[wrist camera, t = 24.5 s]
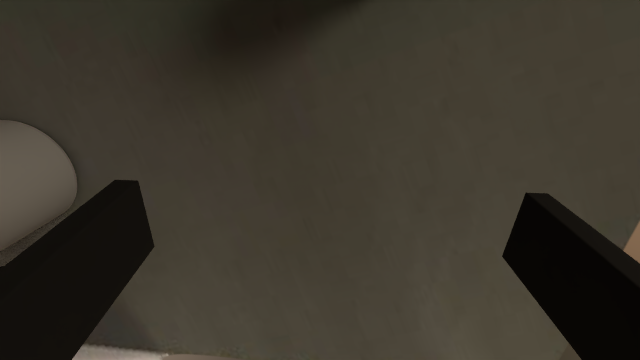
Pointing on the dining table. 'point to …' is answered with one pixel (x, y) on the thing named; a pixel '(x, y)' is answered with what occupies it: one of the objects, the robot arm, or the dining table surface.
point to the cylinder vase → (31, 181)
